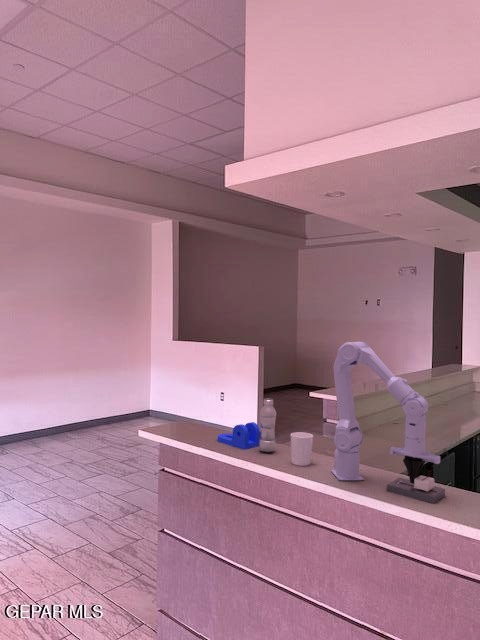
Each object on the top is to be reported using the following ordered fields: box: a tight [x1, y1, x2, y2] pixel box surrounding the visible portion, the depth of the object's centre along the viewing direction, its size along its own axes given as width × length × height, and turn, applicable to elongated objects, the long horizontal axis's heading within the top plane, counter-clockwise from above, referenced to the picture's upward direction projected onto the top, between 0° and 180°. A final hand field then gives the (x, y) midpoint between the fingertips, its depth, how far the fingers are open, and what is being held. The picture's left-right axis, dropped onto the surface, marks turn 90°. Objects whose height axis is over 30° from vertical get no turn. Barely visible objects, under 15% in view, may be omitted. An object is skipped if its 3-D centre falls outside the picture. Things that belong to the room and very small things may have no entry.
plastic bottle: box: [258, 398, 277, 453], centre depth 186 cm, size 6×7×20 cm
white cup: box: [290, 431, 314, 467], centre depth 173 cm, size 8×8×10 cm
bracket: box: [217, 421, 261, 450], centre depth 198 cm, size 18×8×9 cm, turn 45°
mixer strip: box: [386, 477, 446, 504], centre depth 146 cm, size 14×9×2 cm, turn 49°
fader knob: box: [414, 475, 435, 491], centre depth 145 cm, size 4×5×3 cm
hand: (413, 482), depth 147 cm, fingers closed
